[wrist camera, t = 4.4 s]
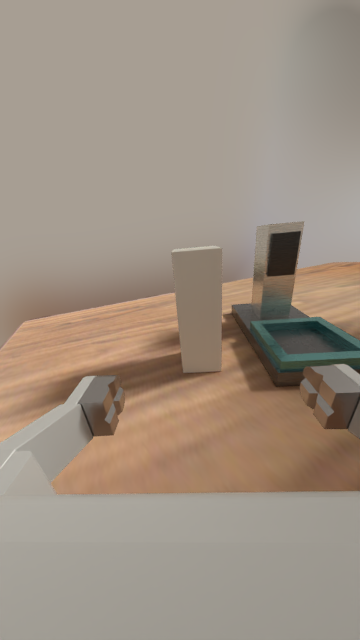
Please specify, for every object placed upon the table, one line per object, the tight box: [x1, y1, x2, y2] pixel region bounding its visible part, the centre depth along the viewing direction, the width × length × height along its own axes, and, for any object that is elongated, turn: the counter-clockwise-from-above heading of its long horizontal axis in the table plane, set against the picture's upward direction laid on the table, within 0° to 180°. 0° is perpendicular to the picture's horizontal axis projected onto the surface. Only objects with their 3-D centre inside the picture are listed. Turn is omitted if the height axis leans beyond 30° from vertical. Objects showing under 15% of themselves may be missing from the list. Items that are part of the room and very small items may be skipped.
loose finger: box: [172, 246, 222, 373], centre depth 19 cm, size 4×4×12 cm
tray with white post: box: [232, 222, 360, 386], centre depth 22 cm, size 18×9×14 cm, turn 179°
